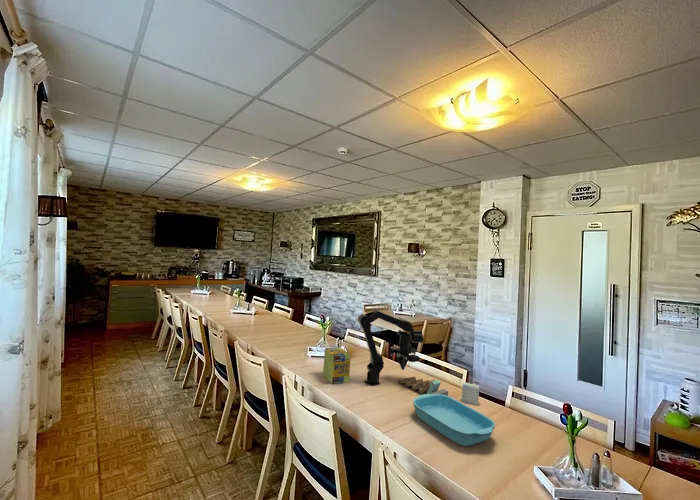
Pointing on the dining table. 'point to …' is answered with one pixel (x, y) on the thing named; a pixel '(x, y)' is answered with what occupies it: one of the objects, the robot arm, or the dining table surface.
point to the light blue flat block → (434, 386)
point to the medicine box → (470, 393)
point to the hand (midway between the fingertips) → (402, 369)
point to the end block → (441, 392)
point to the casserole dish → (453, 419)
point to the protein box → (336, 365)
